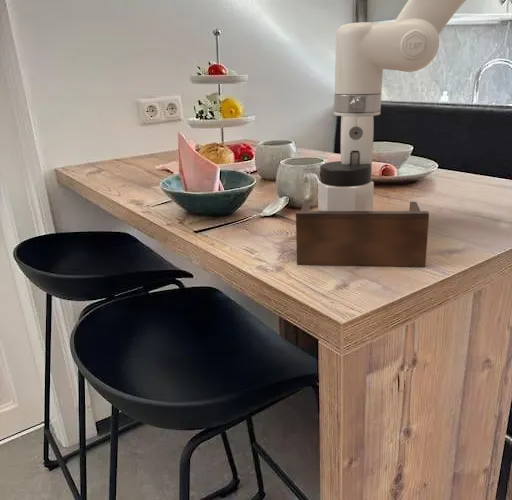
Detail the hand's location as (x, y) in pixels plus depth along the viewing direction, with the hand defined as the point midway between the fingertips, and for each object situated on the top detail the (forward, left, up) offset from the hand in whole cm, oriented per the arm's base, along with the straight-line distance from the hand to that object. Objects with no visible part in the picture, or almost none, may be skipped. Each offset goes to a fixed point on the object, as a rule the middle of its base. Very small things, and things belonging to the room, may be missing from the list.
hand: (352, 212), depth 88 cm
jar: (+1, +6, -3) cm, 6 cm away
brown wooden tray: (-1, +12, -2) cm, 13 cm away
